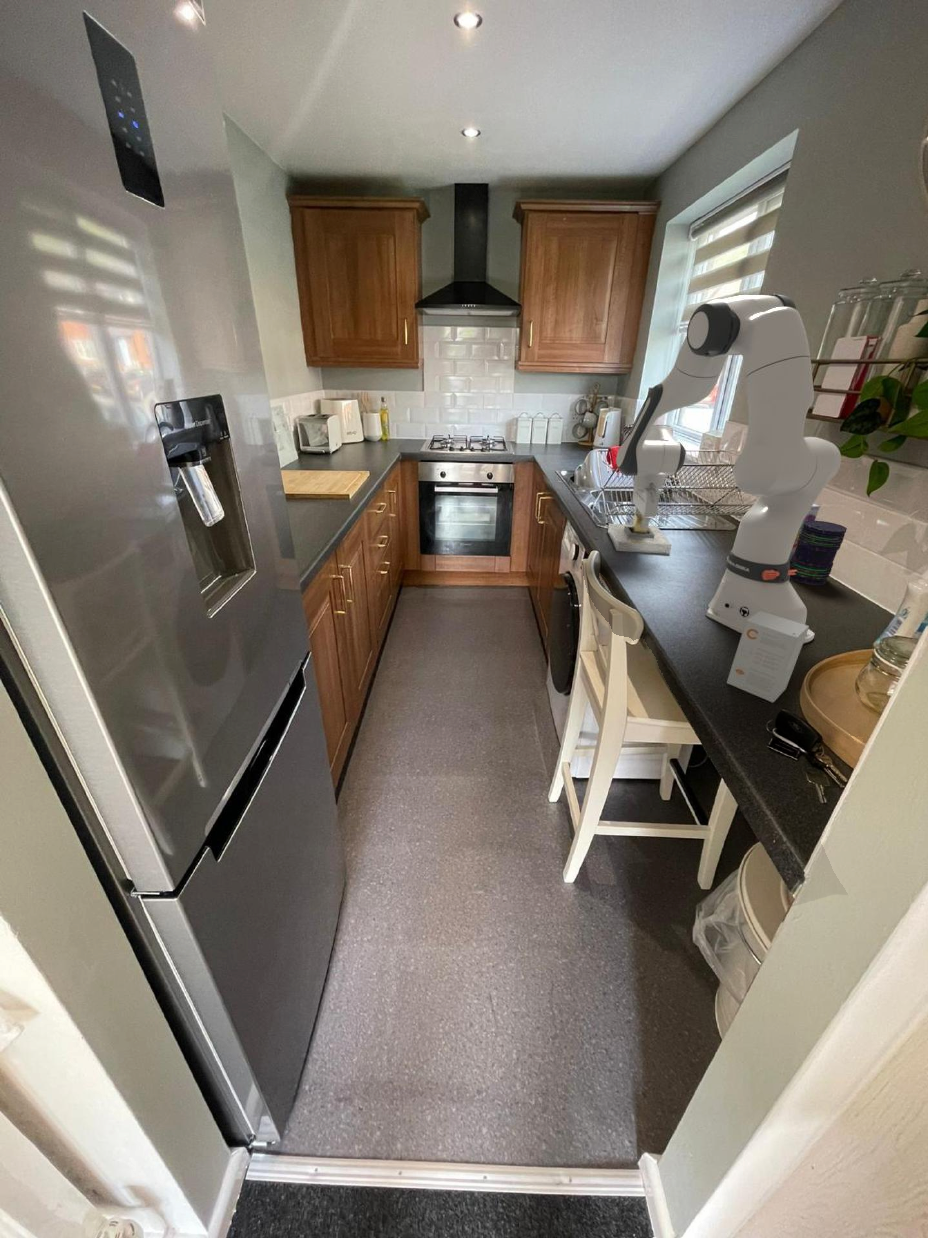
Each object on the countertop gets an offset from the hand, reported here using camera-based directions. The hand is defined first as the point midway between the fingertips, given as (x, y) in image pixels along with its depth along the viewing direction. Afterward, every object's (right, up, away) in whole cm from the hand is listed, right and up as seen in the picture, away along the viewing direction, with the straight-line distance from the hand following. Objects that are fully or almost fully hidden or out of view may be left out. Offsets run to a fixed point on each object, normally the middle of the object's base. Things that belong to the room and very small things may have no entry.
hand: (640, 524), depth 159 cm
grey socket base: (0, -5, +3) cm, 6 cm away
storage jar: (+38, -19, -22) cm, 48 cm away
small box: (-4, -43, -70) cm, 82 cm away
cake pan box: (+34, -14, -11) cm, 38 cm away
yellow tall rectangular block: (0, -6, +3) cm, 6 cm away
